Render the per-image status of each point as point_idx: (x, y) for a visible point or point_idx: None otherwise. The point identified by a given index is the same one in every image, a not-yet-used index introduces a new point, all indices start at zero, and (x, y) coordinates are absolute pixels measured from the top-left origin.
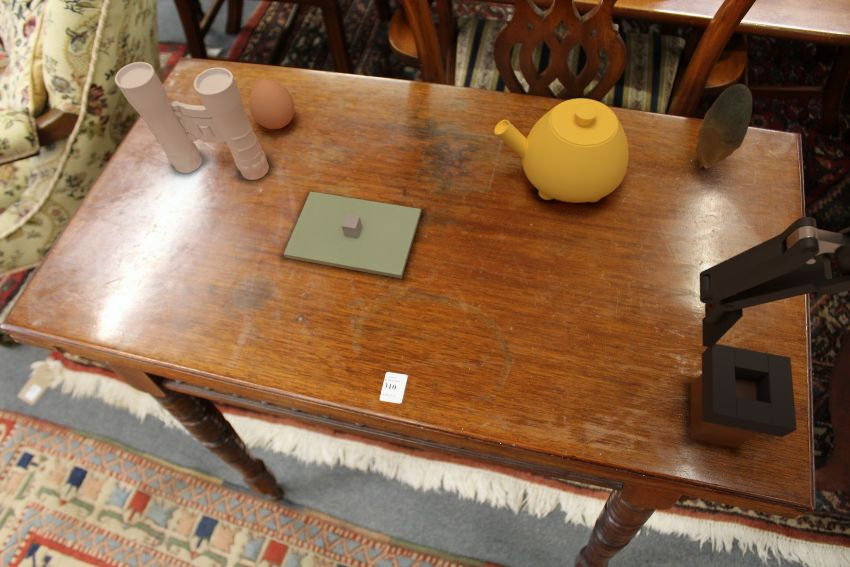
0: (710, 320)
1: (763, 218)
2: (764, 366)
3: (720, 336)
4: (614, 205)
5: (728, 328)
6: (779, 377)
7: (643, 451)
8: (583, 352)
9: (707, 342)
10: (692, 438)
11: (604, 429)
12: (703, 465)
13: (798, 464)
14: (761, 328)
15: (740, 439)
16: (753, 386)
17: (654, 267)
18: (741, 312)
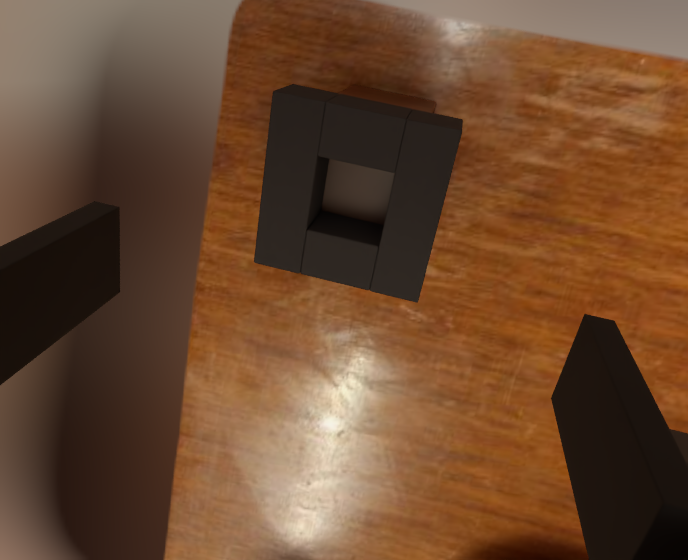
0: (680, 442)
1: (224, 492)
2: (313, 244)
3: (612, 365)
4: (471, 548)
5: (630, 410)
6: (286, 217)
7: (541, 70)
8: (614, 284)
9: (619, 336)
10: (432, 101)
11: (616, 118)
12: (421, 44)
13: (240, 54)
14: (259, 312)
15: (353, 93)
16: (328, 201)
17: (425, 434)
18: (662, 518)
